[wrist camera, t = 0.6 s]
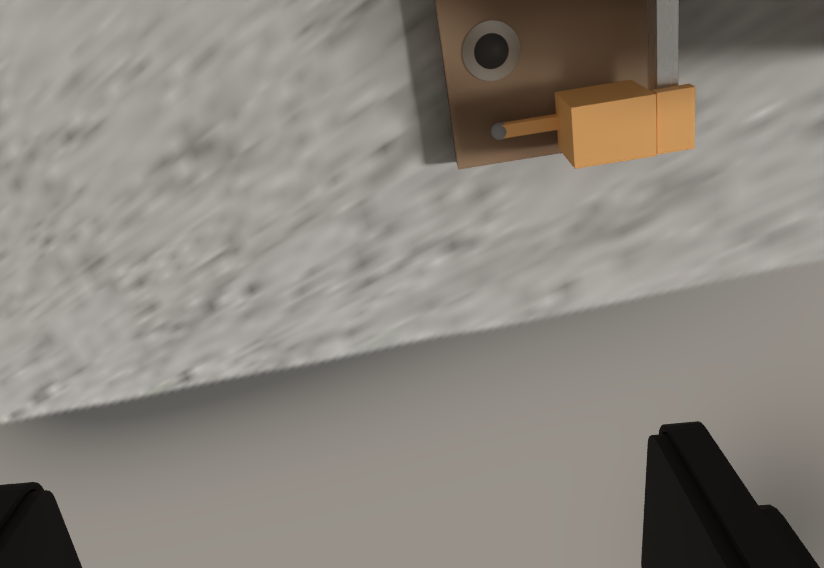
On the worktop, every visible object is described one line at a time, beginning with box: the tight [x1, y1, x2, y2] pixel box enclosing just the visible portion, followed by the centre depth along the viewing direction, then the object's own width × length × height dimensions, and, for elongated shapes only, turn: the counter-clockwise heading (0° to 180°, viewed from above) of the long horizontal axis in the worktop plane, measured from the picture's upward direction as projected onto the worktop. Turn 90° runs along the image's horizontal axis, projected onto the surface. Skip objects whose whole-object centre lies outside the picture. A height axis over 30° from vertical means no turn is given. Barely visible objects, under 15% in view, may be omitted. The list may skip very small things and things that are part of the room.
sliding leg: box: [491, 80, 695, 169], centre depth 36 cm, size 3×10×4 cm, turn 99°
